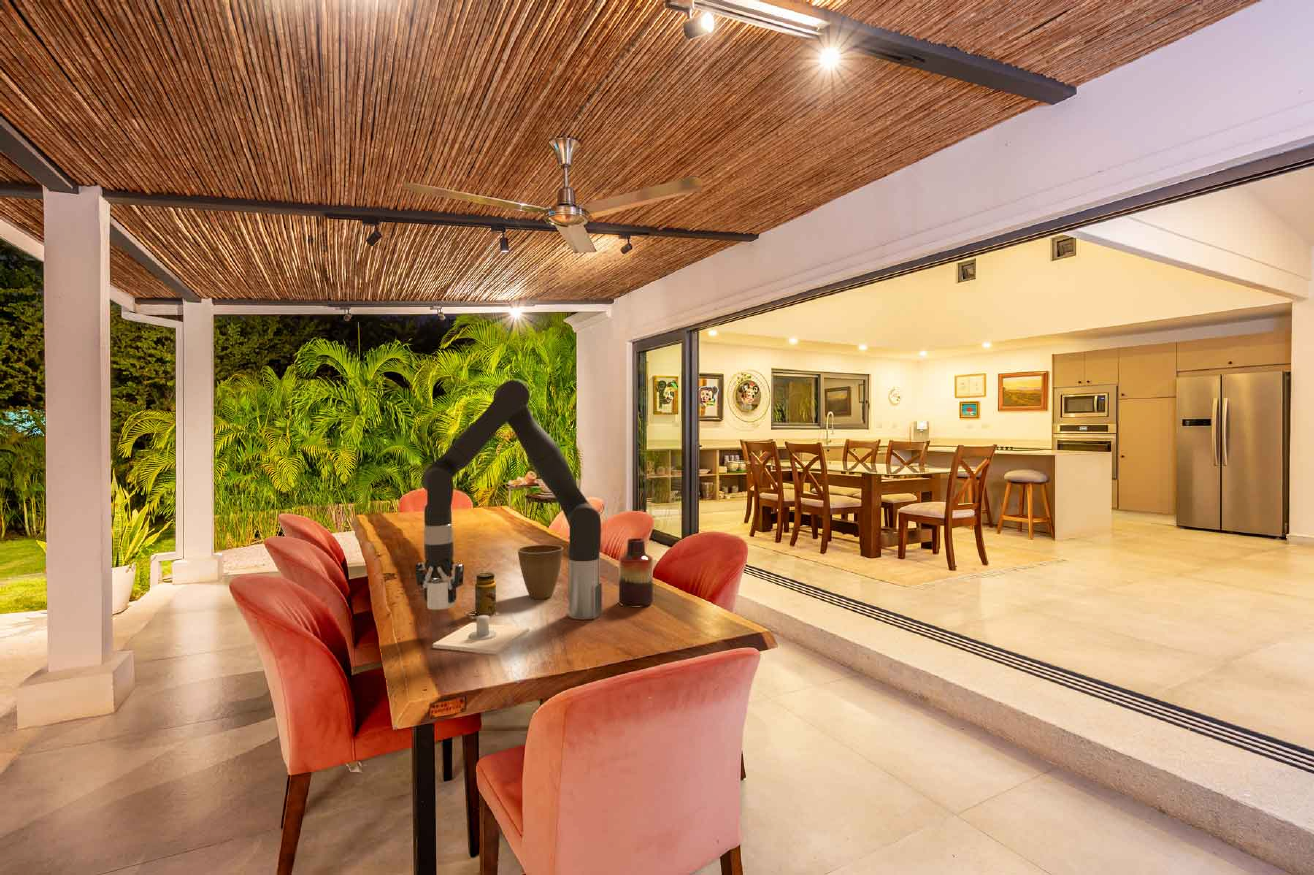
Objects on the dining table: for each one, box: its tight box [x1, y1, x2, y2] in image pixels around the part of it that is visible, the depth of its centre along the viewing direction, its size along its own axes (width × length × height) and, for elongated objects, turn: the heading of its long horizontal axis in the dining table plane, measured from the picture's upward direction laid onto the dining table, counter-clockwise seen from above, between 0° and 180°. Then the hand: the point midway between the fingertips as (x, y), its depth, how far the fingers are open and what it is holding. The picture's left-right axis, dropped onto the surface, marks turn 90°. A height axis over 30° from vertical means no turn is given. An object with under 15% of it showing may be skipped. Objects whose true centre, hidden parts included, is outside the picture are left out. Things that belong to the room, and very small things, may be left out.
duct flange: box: [432, 615, 530, 655], centre depth 168 cm, size 18×18×6 cm
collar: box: [426, 578, 455, 611], centre depth 172 cm, size 6×6×7 cm
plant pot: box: [517, 544, 564, 600], centre depth 210 cm, size 15×15×16 cm
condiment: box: [464, 572, 500, 620], centre depth 190 cm, size 7×8×12 cm
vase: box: [618, 537, 654, 607], centre depth 202 cm, size 11×11×20 cm
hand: (440, 601), depth 172 cm, fingers closed on collar, 6 cm apart
